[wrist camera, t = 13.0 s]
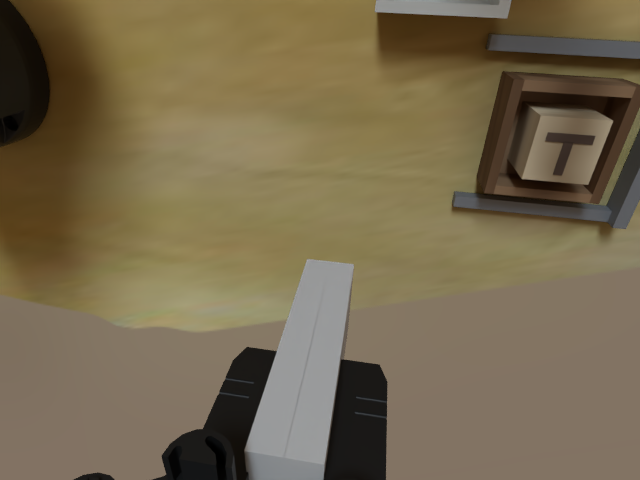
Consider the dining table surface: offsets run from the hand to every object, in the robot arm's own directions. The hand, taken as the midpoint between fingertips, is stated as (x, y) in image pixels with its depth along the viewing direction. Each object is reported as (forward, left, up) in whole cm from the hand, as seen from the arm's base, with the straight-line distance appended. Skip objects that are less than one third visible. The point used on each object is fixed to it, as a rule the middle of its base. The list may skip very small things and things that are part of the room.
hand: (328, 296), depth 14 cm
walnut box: (+14, 0, -24) cm, 28 cm away
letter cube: (+14, 0, -24) cm, 27 cm away
